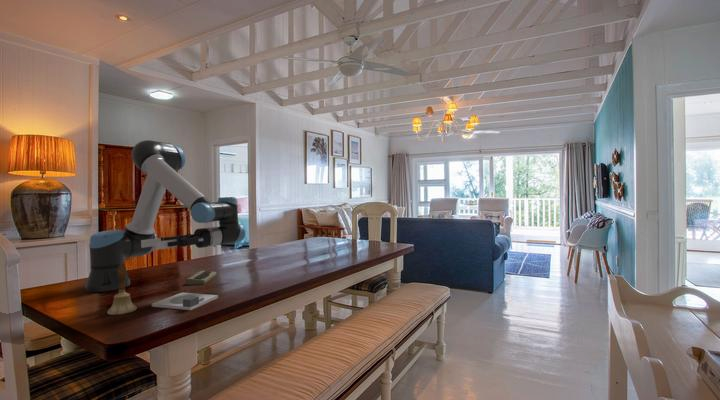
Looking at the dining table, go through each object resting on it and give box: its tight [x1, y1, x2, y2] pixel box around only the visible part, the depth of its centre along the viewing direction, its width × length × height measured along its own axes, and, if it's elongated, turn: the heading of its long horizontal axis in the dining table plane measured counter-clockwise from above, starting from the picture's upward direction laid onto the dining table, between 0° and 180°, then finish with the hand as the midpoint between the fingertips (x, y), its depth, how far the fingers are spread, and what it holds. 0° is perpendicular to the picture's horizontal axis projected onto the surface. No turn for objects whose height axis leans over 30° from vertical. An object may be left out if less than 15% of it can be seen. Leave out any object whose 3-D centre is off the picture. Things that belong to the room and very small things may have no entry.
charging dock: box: [151, 292, 219, 311], centre depth 127 cm, size 16×14×3 cm
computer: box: [185, 270, 218, 286], centre depth 160 cm, size 16×8×3 cm, turn 4°
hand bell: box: [106, 262, 138, 316], centre depth 118 cm, size 8×8×16 cm
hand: (148, 244), depth 125 cm, fingers open, 13 cm apart
